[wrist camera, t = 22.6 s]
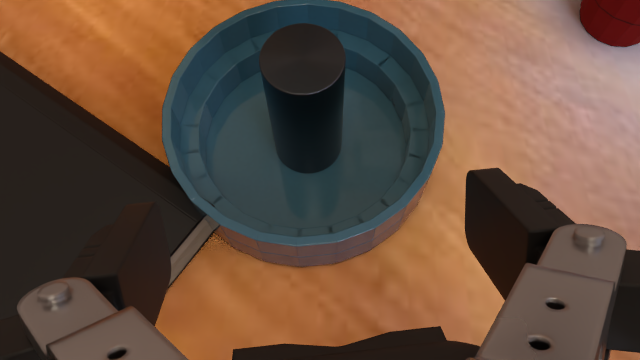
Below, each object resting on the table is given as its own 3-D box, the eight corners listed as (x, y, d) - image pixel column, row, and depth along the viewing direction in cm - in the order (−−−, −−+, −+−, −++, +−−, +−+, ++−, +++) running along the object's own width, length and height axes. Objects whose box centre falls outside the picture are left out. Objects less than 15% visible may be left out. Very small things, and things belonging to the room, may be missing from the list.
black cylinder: (278, 177, 38) (261, 98, 29) (273, 118, 40) (256, 26, 31) (345, 170, 39) (350, 90, 29) (337, 112, 40) (340, 19, 31)
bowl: (183, 281, 36) (160, 260, 31) (182, 57, 43) (163, 10, 38) (451, 253, 37) (471, 228, 32) (407, 36, 44) (417, -13, 39)
